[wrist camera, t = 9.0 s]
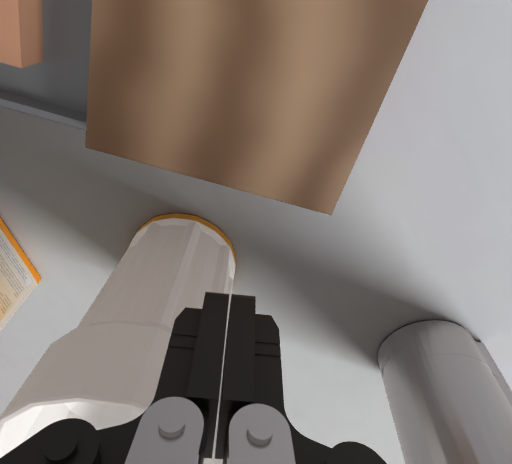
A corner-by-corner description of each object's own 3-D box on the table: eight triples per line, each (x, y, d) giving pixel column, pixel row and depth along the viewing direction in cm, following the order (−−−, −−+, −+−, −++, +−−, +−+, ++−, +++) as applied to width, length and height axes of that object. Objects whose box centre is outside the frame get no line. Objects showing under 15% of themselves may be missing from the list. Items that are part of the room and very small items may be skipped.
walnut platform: (432, -73, 21) (467, -87, 17) (324, 185, 29) (331, 215, 25) (137, -183, 19) (102, -227, 15) (112, 125, 27) (85, 147, 24)
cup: (104, 201, 31) (-56, 395, 16) (245, 199, 30) (214, 399, 15) (133, 307, 37) (38, 518, 22) (252, 307, 36) (235, 525, 21)
